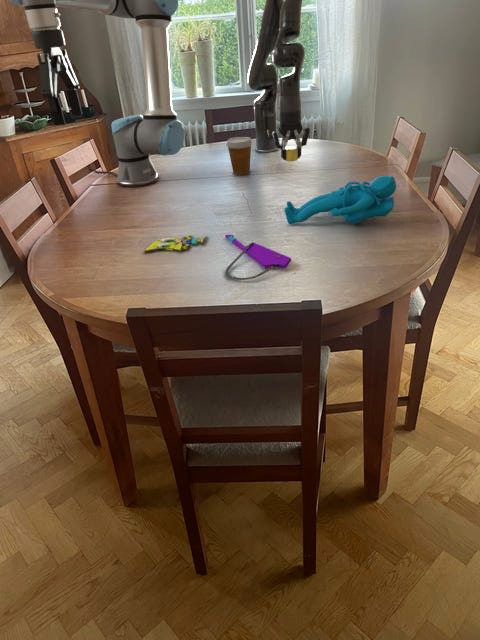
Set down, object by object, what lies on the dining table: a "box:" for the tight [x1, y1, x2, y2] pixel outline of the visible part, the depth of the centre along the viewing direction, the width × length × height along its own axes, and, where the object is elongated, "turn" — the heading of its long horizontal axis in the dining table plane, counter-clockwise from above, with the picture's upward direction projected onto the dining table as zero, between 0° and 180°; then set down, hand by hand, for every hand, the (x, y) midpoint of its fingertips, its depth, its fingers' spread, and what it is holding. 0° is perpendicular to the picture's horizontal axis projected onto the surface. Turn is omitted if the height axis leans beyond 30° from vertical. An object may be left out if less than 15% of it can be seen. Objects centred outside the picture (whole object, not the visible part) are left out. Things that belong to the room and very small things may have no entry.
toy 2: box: [283, 175, 397, 225], centre depth 132 cm, size 17×11×30 cm
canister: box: [284, 145, 299, 163], centre depth 176 cm, size 5×5×4 cm
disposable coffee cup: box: [226, 136, 253, 176], centre depth 180 cm, size 10×10×12 cm
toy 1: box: [144, 234, 207, 254], centre depth 130 cm, size 10×1×15 cm
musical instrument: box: [224, 234, 292, 281], centre depth 118 cm, size 24×2×20 cm
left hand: (69, 119), depth 132 cm, fingers open, 13 cm apart
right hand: (291, 158), depth 177 cm, fingers closed on canister, 4 cm apart
